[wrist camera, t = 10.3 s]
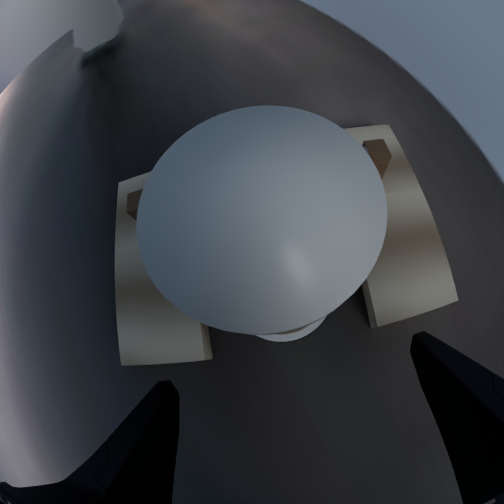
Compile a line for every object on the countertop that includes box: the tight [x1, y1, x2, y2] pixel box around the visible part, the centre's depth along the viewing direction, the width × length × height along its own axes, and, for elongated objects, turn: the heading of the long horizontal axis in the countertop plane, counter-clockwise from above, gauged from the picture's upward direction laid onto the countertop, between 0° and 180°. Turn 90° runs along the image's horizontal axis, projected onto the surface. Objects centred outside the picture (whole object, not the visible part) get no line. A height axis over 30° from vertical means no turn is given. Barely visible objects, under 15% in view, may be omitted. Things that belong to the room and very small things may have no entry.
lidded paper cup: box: [136, 106, 388, 342], centre depth 12 cm, size 6×6×12 cm
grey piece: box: [115, 125, 458, 366], centre depth 16 cm, size 14×22×6 cm, turn 99°
